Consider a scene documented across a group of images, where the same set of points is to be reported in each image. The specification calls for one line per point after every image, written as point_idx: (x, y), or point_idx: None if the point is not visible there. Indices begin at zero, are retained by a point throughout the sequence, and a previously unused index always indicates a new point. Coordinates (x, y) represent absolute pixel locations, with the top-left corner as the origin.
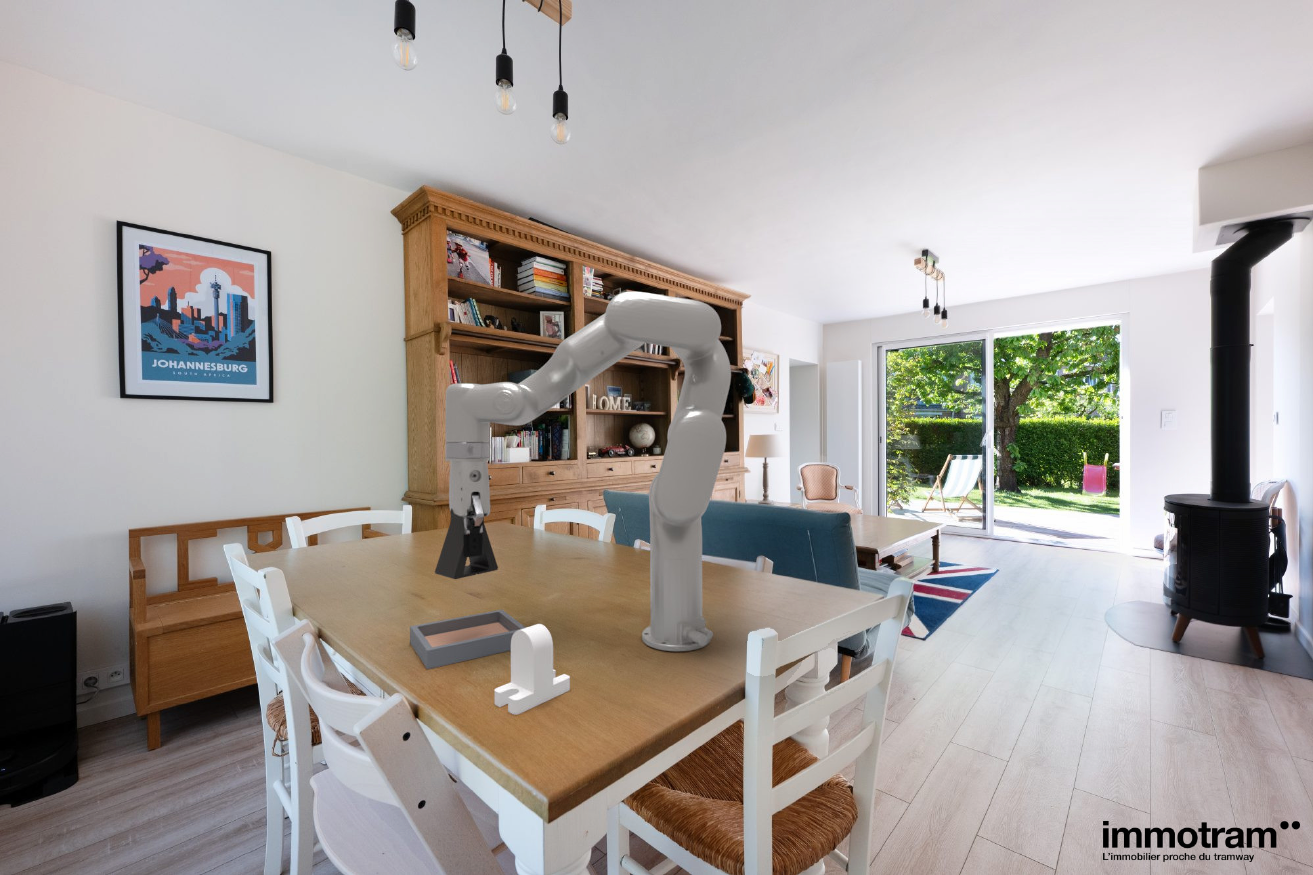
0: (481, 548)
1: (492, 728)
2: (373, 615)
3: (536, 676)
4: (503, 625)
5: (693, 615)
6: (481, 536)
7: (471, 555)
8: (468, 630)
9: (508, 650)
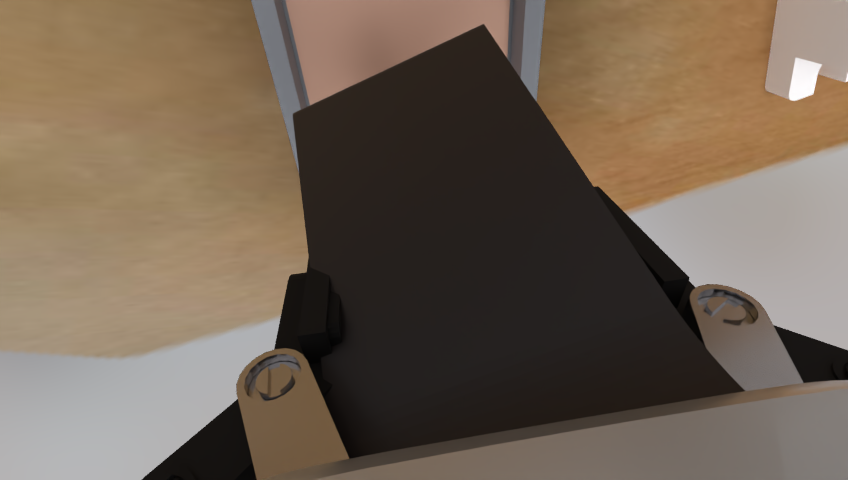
0: (615, 209)
1: (836, 114)
2: (34, 290)
3: None
4: None
5: None
6: (667, 263)
7: None
8: (326, 72)
9: None
